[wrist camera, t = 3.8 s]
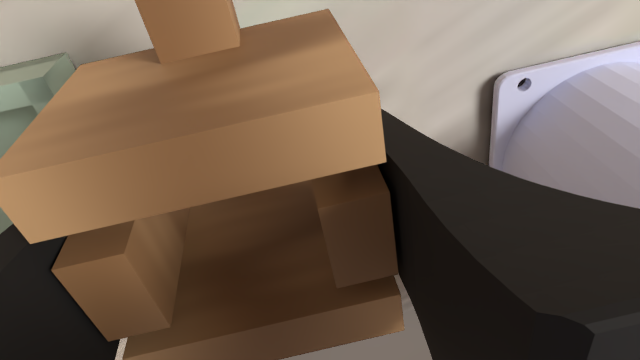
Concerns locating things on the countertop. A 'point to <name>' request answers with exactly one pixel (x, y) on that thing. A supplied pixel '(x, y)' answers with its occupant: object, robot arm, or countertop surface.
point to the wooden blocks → (216, 189)
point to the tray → (27, 98)
